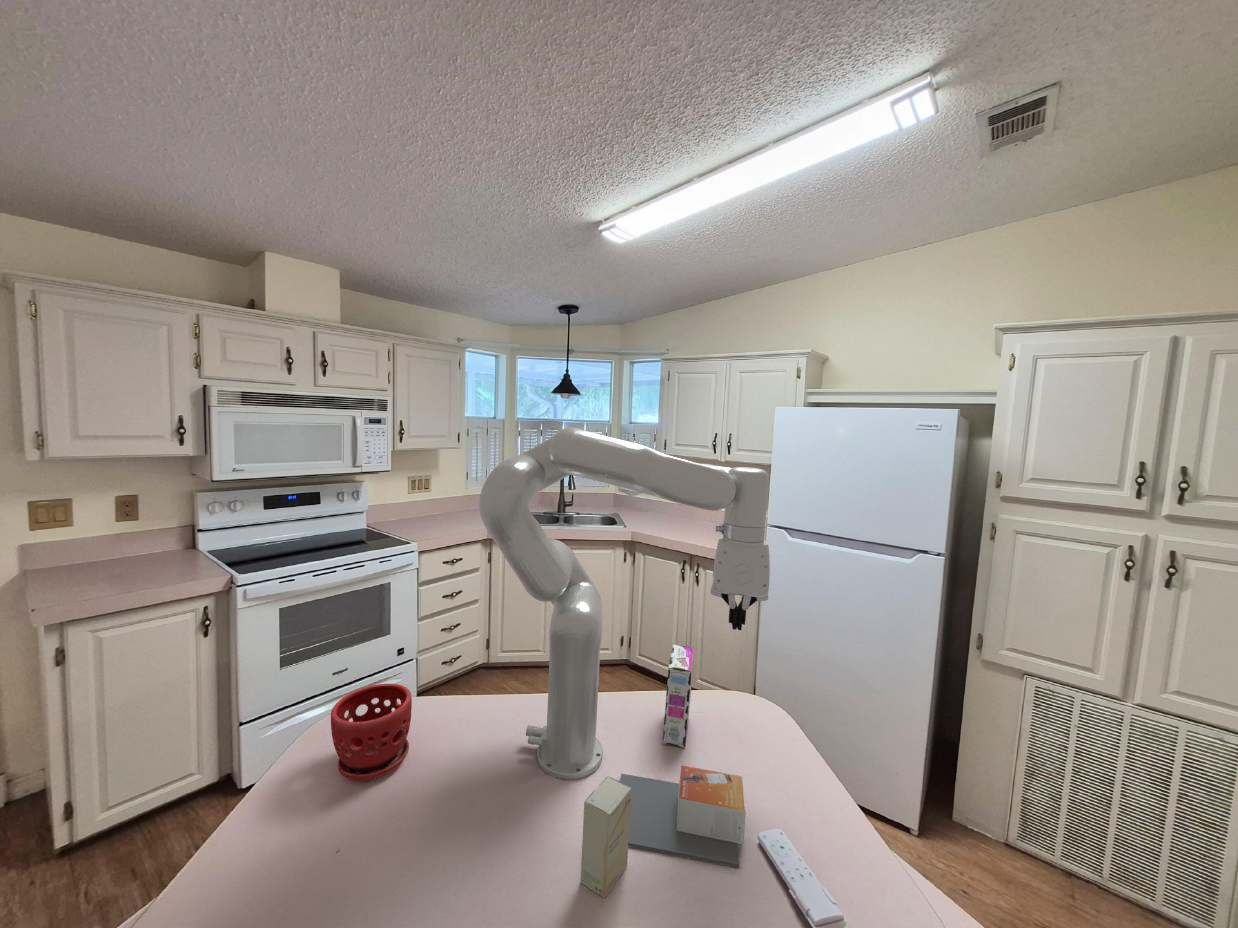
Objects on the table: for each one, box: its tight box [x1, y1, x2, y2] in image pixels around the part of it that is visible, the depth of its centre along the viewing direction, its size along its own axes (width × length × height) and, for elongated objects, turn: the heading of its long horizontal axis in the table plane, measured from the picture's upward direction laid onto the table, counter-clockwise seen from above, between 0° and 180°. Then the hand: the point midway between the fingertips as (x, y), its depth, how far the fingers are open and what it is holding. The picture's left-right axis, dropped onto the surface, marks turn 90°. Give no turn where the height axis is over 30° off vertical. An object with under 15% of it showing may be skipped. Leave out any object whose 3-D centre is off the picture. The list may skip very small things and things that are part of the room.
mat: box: [619, 773, 741, 869], centre depth 78 cm, size 20×14×1 cm
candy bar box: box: [661, 644, 695, 749], centre depth 100 cm, size 11×5×16 cm, turn 169°
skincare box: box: [580, 775, 631, 898], centre depth 67 cm, size 6×4×12 cm
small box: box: [677, 764, 746, 845], centre depth 77 cm, size 8×6×10 cm
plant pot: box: [330, 683, 413, 782], centre depth 86 cm, size 13×13×12 cm
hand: (736, 626), depth 90 cm, fingers closed
